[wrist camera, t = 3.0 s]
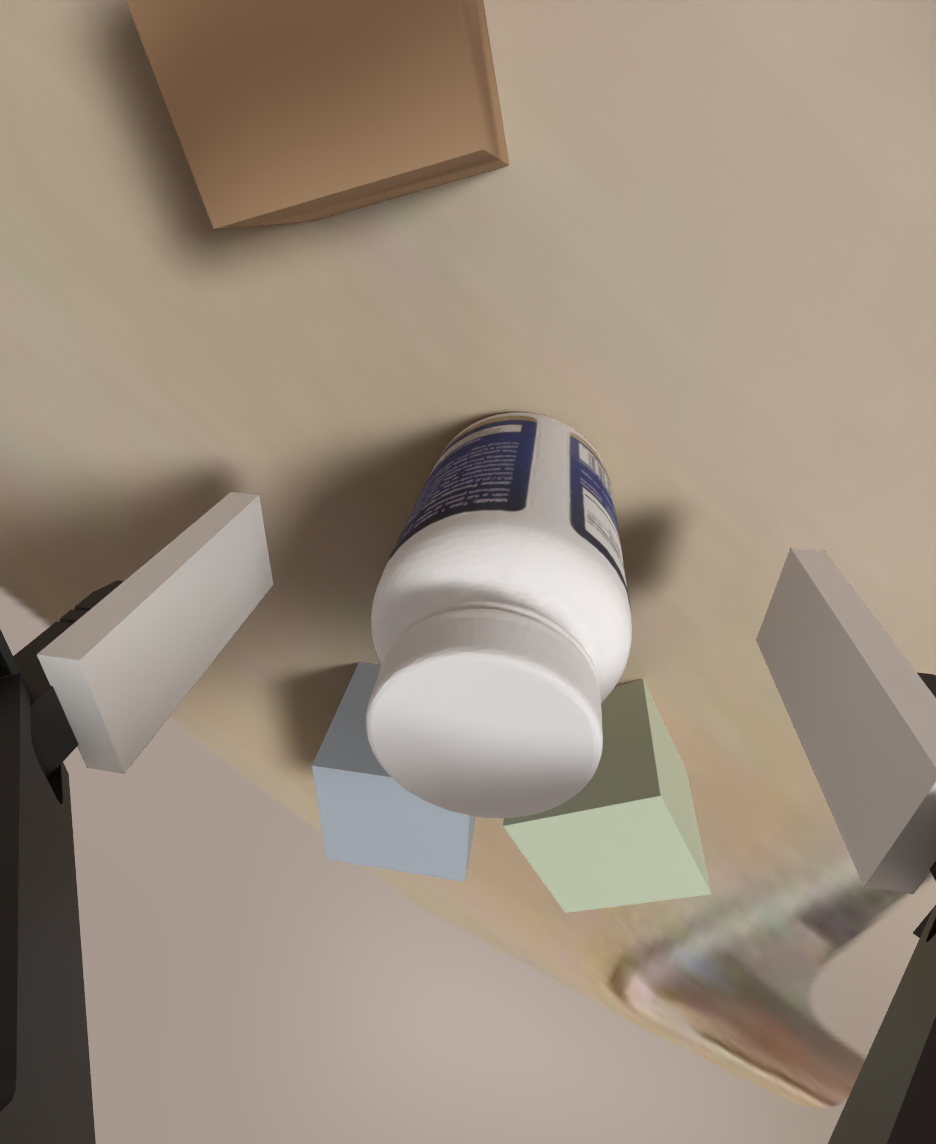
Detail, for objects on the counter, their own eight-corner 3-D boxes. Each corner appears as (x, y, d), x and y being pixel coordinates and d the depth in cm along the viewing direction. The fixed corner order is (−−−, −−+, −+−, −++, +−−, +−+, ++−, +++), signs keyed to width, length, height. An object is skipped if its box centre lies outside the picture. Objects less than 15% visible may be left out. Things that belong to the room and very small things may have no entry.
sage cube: (515, 711, 23) (503, 826, 19) (642, 676, 21) (660, 795, 17) (566, 792, 25) (565, 912, 21) (685, 768, 23) (711, 894, 19)
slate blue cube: (359, 660, 23) (312, 765, 18) (489, 676, 22) (470, 788, 18) (366, 750, 25) (326, 859, 21) (482, 766, 25) (465, 881, 21)
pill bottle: (413, 540, 19) (299, 791, 11) (459, 381, 16) (350, 563, 8) (570, 592, 19) (570, 876, 11) (643, 444, 17) (715, 684, 8)
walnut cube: (229, -50, 12) (56, -178, 8) (459, -148, 11) (394, -355, 7) (313, 221, 15) (213, 228, 11) (509, 164, 14) (483, 149, 9)
